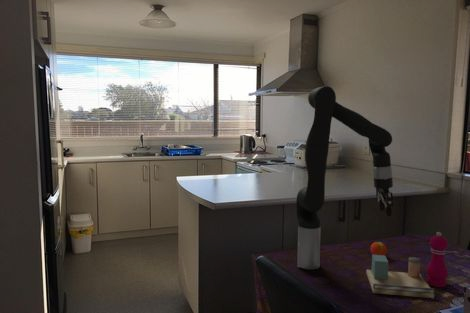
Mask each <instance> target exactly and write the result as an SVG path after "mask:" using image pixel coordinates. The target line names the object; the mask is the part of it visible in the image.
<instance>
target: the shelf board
mask: <svg viewBox="0 0 470 313" xmlns="http://www.w3.org/2000/svg"><path fill="white" fill-rule="evenodd" d="M371 270H372V269H366V276H367V279H368V282H369V284H370V289H371V290H372V293H373V294H381V295H394V296H405V297H415V298H416V297H417V298H429V299H435V291H436V290H435V288H432V287H431V286H430V285H429V284H428V282H427V280H425V278H424V277H423V276H422V275H421V273H420V277H419V278H412V277H409V276H408V272H404V271H392V270H391V271H390V270H388V280H380V279H374V277H373V274H372V272H371Z"/></svg>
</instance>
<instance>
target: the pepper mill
mask: <svg viewBox="0 0 470 313" xmlns="http://www.w3.org/2000/svg"><path fill="white" fill-rule="evenodd" d="M442 235H443V234H442V232H440V231H437V232H436V234H435V235H433V236H432V237H430V238H429V245H430V253H431V260H430V262H429V263H428V265H427V267H426V275H427V278H426V283H427V284H428V285H429V286H433V287H436V288H444V287H446V285H447V280H446V279H447V278H448V276H449V272H448V268H447V266H446V263H445V260H444V259H445V255H446V251H447V250H446V248H448V244H449V243H448V240H447V239H446V237H444V236H442Z"/></svg>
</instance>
